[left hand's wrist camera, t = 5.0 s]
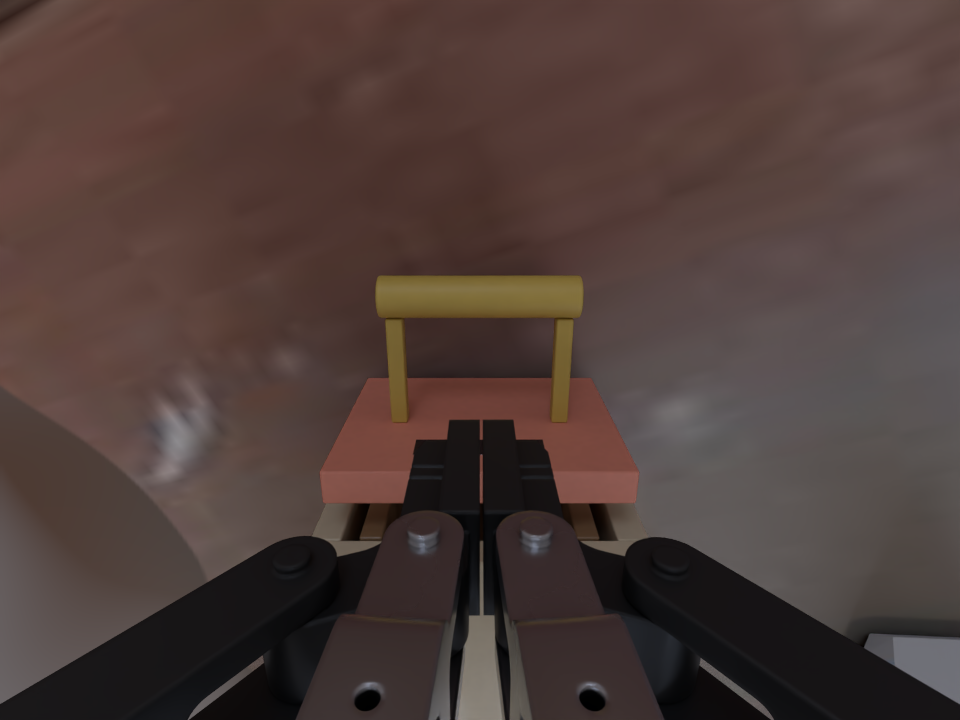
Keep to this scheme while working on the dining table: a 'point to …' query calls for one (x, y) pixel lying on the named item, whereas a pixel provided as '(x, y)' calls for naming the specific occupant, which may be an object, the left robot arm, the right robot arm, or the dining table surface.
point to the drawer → (478, 403)
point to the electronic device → (922, 659)
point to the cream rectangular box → (480, 675)
